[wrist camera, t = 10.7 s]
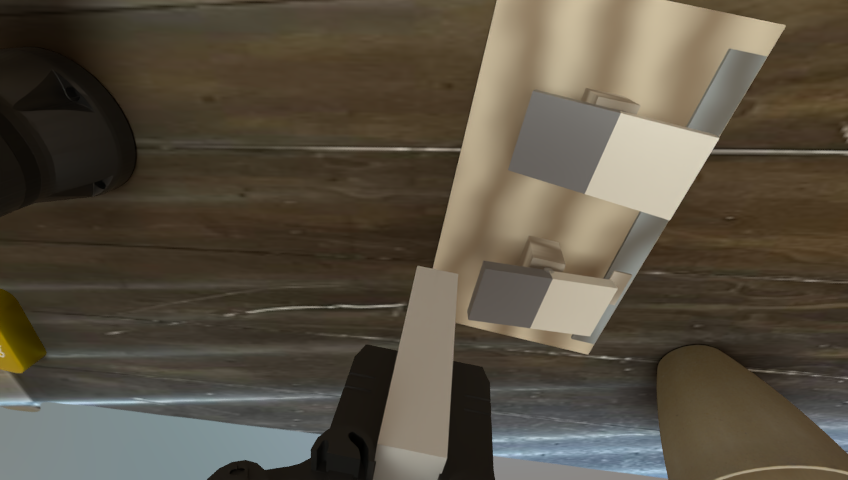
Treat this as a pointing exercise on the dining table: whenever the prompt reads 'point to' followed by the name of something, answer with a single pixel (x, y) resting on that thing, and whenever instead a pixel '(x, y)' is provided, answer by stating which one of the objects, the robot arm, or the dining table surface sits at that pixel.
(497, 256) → the switch console
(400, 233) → the dining table surface
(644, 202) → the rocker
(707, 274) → the dining table surface
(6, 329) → the element tile
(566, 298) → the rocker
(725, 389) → the plant pot
